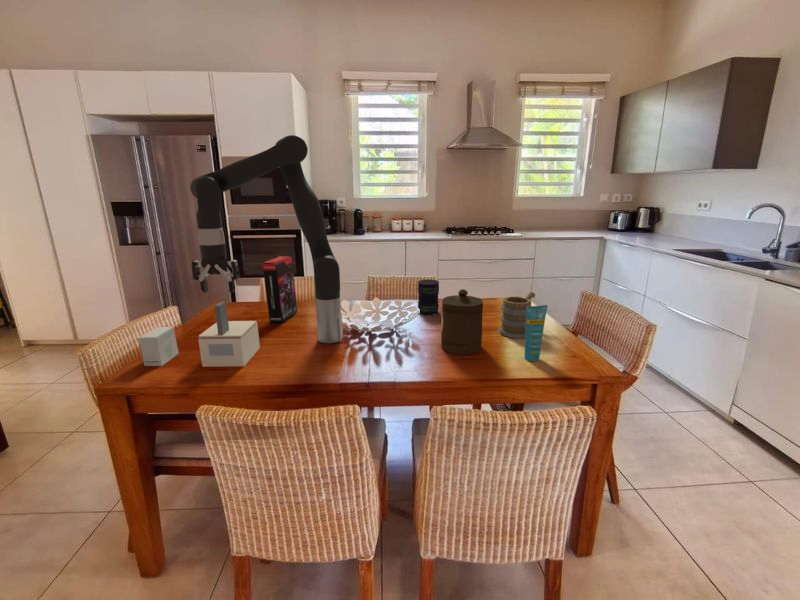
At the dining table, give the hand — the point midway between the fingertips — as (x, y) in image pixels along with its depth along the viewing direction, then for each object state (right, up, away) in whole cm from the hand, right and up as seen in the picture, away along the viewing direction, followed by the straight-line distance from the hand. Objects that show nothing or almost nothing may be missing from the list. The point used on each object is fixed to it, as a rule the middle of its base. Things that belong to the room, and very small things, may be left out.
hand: (218, 292), depth 132 cm
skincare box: (-24, -24, +9) cm, 35 cm away
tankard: (+109, -15, +34) cm, 115 cm away
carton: (0, -23, +11) cm, 25 cm away
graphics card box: (+6, -11, +53) cm, 55 cm away
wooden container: (+82, -20, +18) cm, 87 cm away
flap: (0, -13, +8) cm, 15 cm away
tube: (+105, -23, +7) cm, 108 cm away
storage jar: (+73, -9, +59) cm, 94 cm away
